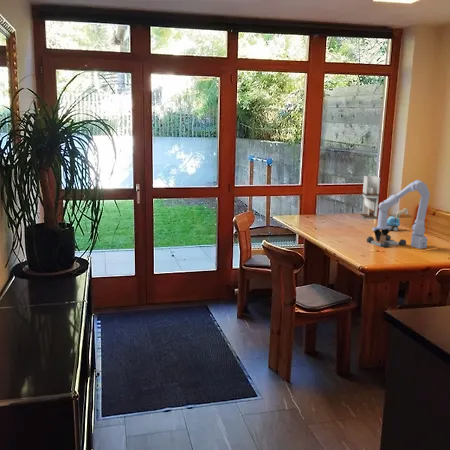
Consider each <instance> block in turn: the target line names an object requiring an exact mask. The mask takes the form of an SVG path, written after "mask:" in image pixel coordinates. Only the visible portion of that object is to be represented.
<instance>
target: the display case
mask: <svg viewBox="0 0 450 450" xmlns="http://www.w3.org/2000/svg"><path fill="white" fill-rule="evenodd" d="M380 182H381V177H379V176H377V175H364V176H363V186H362V195H361V196H362V197H363V201H362V213H361V214H360V217H361V218H362V219H364V220H367V219H368V220H378V210H379V207H378V206H379V196H380V186H381V183H380Z"/></svg>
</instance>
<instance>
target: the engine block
mask: <svg viewBox="0 0 450 450" xmlns="http://www.w3.org/2000/svg"><path fill="white" fill-rule="evenodd" d="M374 240H375V242H378V243H383V242H384V241H386V235H383V233H381V235H380V240H379V241H376V236H375V235H374Z"/></svg>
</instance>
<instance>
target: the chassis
mask: <svg viewBox="0 0 450 450" xmlns="http://www.w3.org/2000/svg"><path fill="white" fill-rule="evenodd" d="M398 241H399V242H398ZM398 241H396V240H392V236H391V235H389V234H387V236H386V241H384V242H383V243H378V242H375V237H373V236H370V235H369V236H368V237H367V238H366V242H367V243H368V244H371V245H375V246H377V247H381V248H384V249H385V248H389V247H392V246H406V245H407V241H406V239H404V238H402V239H400V240H398Z"/></svg>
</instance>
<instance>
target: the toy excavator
mask: <svg viewBox="0 0 450 450" xmlns="http://www.w3.org/2000/svg"><path fill="white" fill-rule="evenodd" d="M404 213H405V214H404ZM402 214H404V215H406V216H407V215H409V210H408V208H405V207H404V208H403V209H402V210H399V211H397V212H396V214H395V216H388V217H387V226H391V229H388V230H390V231H391V230H392V231H394V232H397V231H399V227H400V224H401V223H400V215H402Z"/></svg>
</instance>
